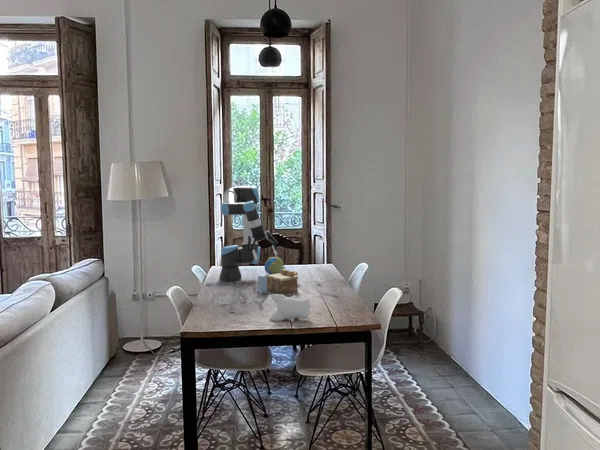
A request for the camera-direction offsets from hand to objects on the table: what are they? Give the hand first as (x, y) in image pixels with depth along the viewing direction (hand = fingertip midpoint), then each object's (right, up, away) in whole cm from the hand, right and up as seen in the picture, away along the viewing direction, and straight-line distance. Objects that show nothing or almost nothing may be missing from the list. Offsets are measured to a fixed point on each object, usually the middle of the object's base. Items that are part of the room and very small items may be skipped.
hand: (266, 257), depth 335 cm
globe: (+4, -16, +51) cm, 53 cm away
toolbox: (+10, -20, -2) cm, 23 cm away
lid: (+10, -12, -3) cm, 16 cm away
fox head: (+16, -27, -67) cm, 74 cm away
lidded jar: (+14, -19, +18) cm, 30 cm away
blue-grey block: (-2, -21, -10) cm, 23 cm away
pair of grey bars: (-2, -21, -10) cm, 23 cm away
